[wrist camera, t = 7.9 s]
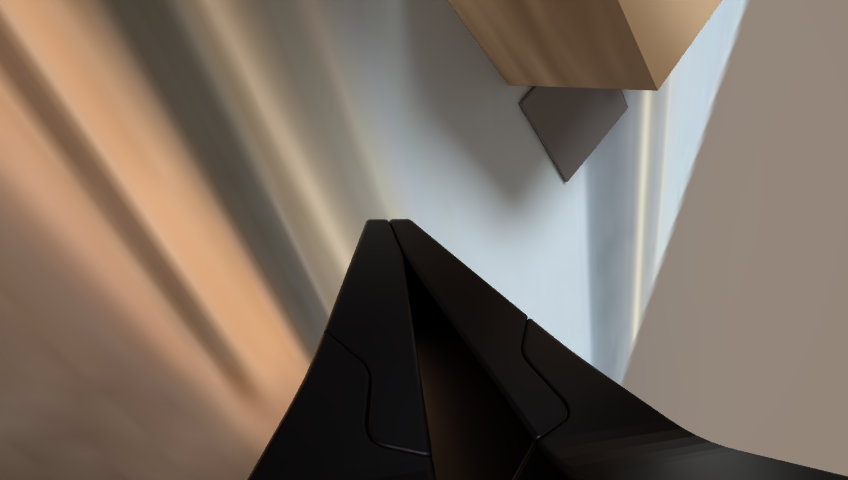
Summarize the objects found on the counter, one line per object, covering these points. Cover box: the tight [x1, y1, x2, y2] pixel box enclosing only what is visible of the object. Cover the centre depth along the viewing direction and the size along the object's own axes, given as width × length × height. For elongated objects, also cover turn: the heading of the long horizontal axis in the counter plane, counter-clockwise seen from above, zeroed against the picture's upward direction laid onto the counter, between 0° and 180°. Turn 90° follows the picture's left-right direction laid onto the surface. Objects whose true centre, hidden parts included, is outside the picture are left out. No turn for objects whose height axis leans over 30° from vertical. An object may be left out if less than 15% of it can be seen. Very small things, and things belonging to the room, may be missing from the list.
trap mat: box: [519, 86, 628, 182], centre depth 24 cm, size 6×6×1 cm
